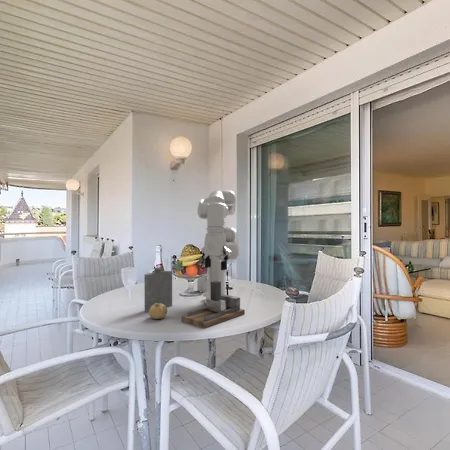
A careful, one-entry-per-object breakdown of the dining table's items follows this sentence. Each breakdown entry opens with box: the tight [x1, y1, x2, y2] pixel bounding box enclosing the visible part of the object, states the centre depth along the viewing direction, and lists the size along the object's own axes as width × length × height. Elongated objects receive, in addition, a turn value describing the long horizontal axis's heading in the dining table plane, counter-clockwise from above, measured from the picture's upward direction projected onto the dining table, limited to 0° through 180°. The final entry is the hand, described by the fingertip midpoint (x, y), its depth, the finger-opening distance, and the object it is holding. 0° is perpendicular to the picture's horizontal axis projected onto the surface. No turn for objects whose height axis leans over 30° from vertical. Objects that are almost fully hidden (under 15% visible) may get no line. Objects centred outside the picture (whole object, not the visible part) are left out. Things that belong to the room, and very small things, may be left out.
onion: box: [148, 303, 168, 320], centre depth 141 cm, size 8×8×7 cm
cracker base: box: [181, 294, 246, 329], centre depth 142 cm, size 14×26×8 cm, turn 139°
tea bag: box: [196, 275, 207, 293], centre depth 196 cm, size 4×7×10 cm, turn 39°
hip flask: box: [144, 266, 173, 313], centre depth 157 cm, size 16×4×20 cm, turn 139°
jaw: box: [205, 281, 225, 312], centre depth 143 cm, size 9×3×13 cm, turn 49°
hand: (215, 268), depth 143 cm, fingers open, 9 cm apart
